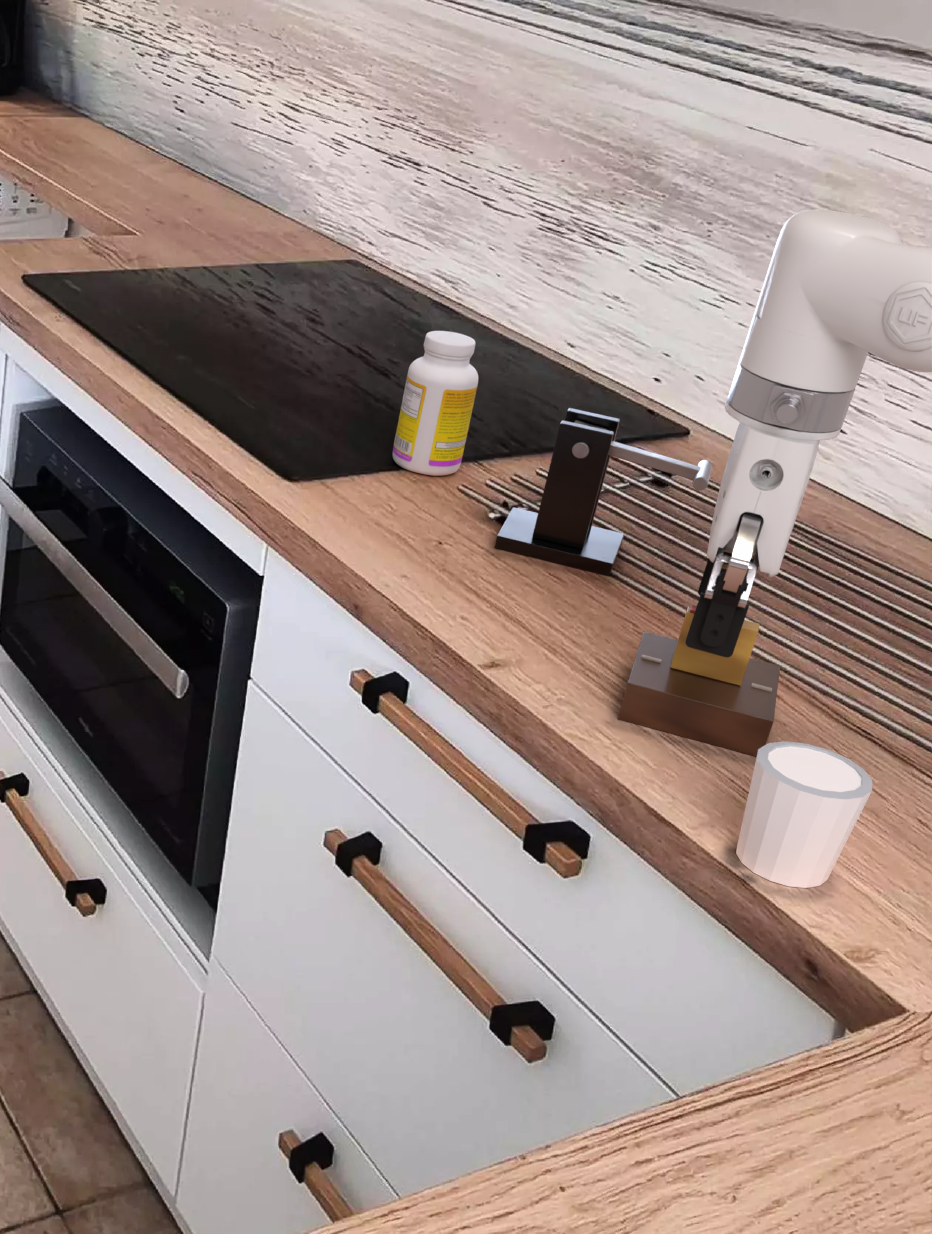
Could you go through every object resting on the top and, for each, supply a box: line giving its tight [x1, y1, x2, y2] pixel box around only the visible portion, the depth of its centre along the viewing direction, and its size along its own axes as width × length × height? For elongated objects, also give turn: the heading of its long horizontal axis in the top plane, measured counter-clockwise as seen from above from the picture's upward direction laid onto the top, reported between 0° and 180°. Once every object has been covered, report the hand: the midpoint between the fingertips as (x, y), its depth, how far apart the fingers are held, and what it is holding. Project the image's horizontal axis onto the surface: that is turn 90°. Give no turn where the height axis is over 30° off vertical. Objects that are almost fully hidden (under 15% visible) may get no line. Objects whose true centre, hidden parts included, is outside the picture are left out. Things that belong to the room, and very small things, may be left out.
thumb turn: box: [670, 604, 760, 686], centre depth 126 cm, size 5×1×5 cm, turn 67°
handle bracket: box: [494, 407, 625, 577], centre depth 151 cm, size 10×8×12 cm
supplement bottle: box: [392, 330, 479, 477], centre depth 167 cm, size 7×7×13 cm
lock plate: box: [617, 630, 781, 758], centre depth 127 cm, size 10×10×3 cm
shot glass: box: [735, 740, 874, 889], centre depth 109 cm, size 7×7×7 cm
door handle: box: [574, 420, 714, 491], centre depth 148 cm, size 12×5×2 cm, turn 67°
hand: (713, 624), depth 125 cm, fingers open, 9 cm apart
